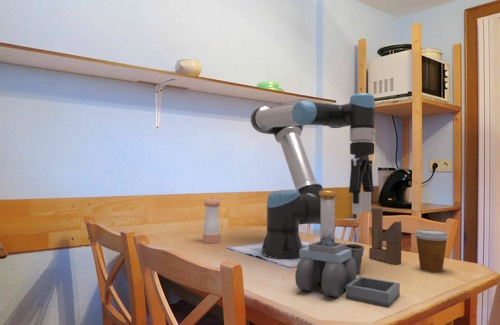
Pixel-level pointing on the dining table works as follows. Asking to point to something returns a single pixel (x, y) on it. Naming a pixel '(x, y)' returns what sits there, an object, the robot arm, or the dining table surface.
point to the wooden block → (385, 239)
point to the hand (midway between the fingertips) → (361, 212)
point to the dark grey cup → (356, 254)
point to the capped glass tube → (327, 218)
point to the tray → (373, 291)
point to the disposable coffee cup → (431, 249)
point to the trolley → (325, 268)
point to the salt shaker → (211, 221)
